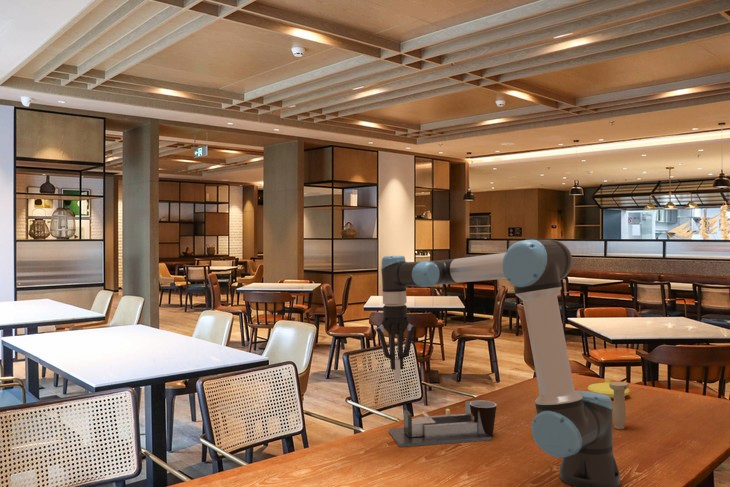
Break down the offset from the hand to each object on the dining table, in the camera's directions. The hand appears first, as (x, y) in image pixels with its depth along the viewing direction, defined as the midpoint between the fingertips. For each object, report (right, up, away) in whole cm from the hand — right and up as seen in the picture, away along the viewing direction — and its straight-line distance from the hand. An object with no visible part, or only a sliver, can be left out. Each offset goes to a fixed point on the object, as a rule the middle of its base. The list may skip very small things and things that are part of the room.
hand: (397, 379), depth 194 cm
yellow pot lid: (+88, -19, +54) cm, 105 cm away
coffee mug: (+29, -20, +10) cm, 36 cm away
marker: (+18, -18, +16) cm, 31 cm away
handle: (+75, -19, +13) cm, 79 cm away
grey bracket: (+7, -19, +10) cm, 22 cm away
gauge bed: (+14, -20, +8) cm, 26 cm away
